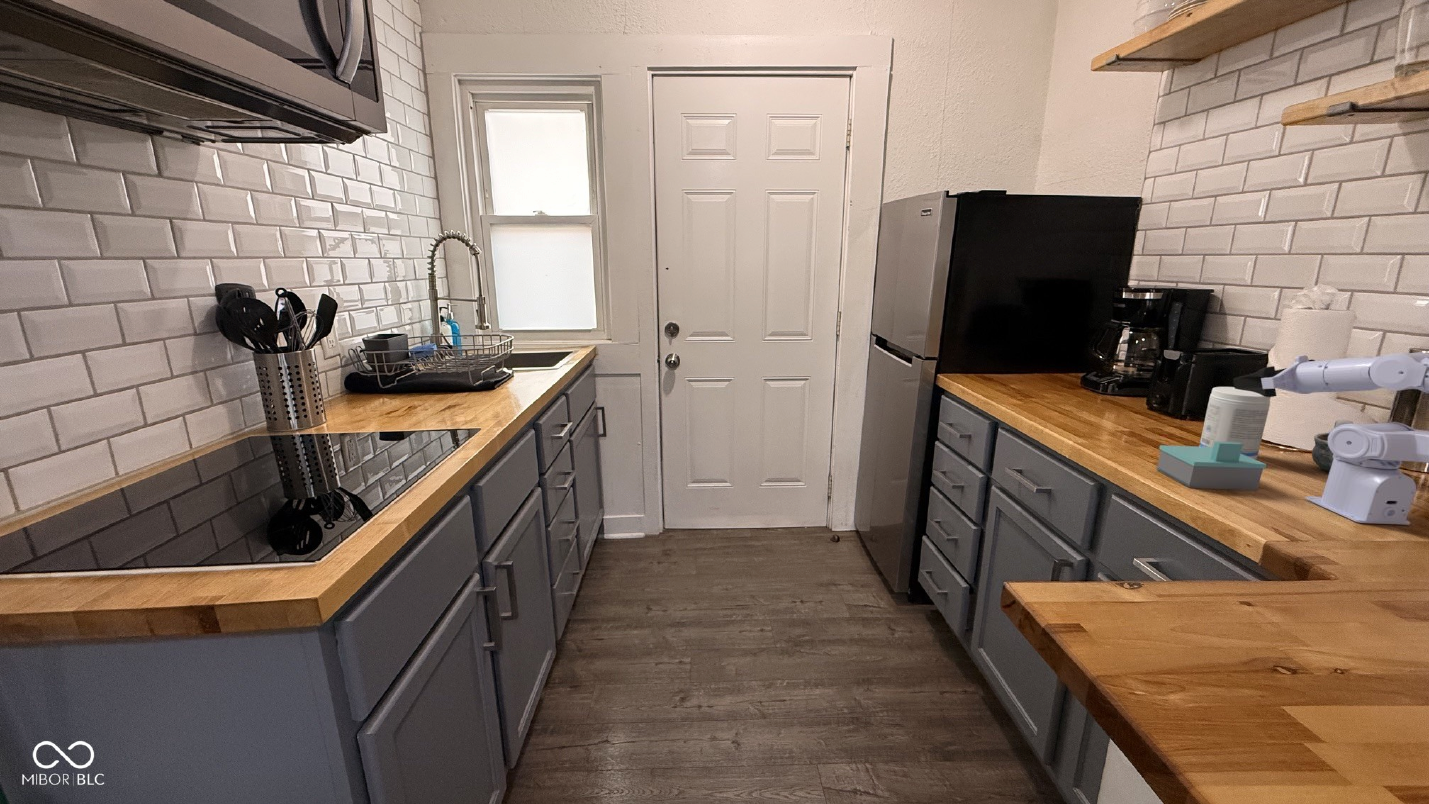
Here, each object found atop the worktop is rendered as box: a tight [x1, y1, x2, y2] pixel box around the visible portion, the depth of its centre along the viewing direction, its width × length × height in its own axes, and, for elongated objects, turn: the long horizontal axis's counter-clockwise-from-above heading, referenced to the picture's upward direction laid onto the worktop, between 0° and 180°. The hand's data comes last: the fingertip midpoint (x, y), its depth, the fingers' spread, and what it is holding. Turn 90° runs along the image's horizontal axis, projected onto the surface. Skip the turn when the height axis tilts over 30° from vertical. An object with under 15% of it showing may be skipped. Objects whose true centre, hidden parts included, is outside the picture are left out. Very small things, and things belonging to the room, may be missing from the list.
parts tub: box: [1156, 450, 1264, 491], centre depth 108 cm, size 9×12×4 cm
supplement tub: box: [1198, 386, 1272, 460], centre depth 120 cm, size 10×10×15 cm
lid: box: [1159, 441, 1267, 469], centre depth 107 cm, size 9×12×5 cm
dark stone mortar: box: [1311, 419, 1355, 473], centre depth 113 cm, size 10×12×10 cm
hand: (1251, 380), depth 111 cm, fingers open, 7 cm apart
